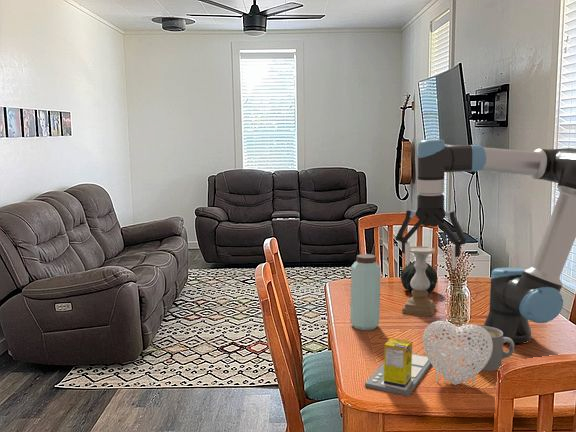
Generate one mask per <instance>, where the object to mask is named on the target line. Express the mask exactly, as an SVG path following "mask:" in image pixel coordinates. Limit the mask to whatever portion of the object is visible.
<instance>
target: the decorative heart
mask: <svg viewBox="0 0 576 432" xmlns="http://www.w3.org/2000/svg"><path fill="white" fill-rule="evenodd" d="M481 326H482V325H478V324H474V323H473V324H465V325H461V326H457V325H455V324H453V323H451V322H449V321H445V320H435V321H433V322H430V323H429V324H428V325H427V326H426V327H425V329H424V330H423V335H422V345H423V350H424V353H425V356H427V357H428V359H429V361H430V363H431V366H432V368H434V369H435V370H436V372H435V374H436V375H435V383H438V382H439V375H441V376H442V377H443V382H444V383H445V384H447V381H448V382H450V384H452V385H454V386H457V385H460V384H462V383H464V386H465V385H467V386H468V381H469V380H470V379H472V380H471V386H472V385H474V386H475V379H476V378H475V377H476V375H478V374H479V373H480V372H481V371H482V369H483V368H484V367H485V365H486V364H487V362H488V361H489V359H490V357H491V354H492V349H493V343H492V338H491V336H490V334H489V333H488V331H487V330H486V329H484V328H483V327H481ZM468 328H469V329H468ZM475 329H476V330H475ZM479 330H480V331H479ZM476 332H477V333H478V334H476ZM469 333H472V335H470V334H469ZM480 333H481V334H482V335H481V334H480ZM483 335H484V336H483ZM436 336H437V337H436ZM473 336H476V337H475V338H476V339H475V338H473ZM479 336H480V338H479ZM468 337H471V340H467V338H468ZM481 337H482V338H481ZM483 339H484V340H485V341H483ZM488 339H489V340H488ZM472 340H474V341H473V342H472ZM478 340H479V343H478ZM486 341H487V344H486ZM469 342H470V345H469ZM473 343H474V344H473ZM483 343H484V344H485V345H484V346H483V345H482V344H483ZM452 344H453V345H452ZM475 344H476V346H475ZM458 345H459V346H458ZM472 345H473V346H474V347H472ZM479 345H480V347H479ZM486 346H488V348H487V347H486ZM466 347H468V348H466ZM489 347H490V348H489ZM476 348H477V349H476ZM481 348H483V350H481ZM471 349H473V350H471ZM479 353H480V354H479ZM481 353H482V354H481ZM477 354H478V355H477ZM487 354H488V355H487ZM449 355H450V356H449ZM486 355H487V356H486ZM478 357H479V358H478ZM483 357H484V358H483ZM466 358H467V359H466ZM463 360H464V361H463ZM479 360H480V362H479V363H478V361H479ZM482 361H483V362H482ZM467 362H468V363H467ZM481 362H482V363H481ZM473 363H474V365H473V366H471V365H472V364H473ZM468 365H469V366H468ZM474 367H475V369H474Z"/></svg>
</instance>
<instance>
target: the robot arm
mask: <svg viewBox="0 0 576 432" xmlns="http://www.w3.org/2000/svg"><path fill="white" fill-rule="evenodd" d="M416 159H417V162H416V163H417V166H416V167H417V182H416V183H417V185H416V188H417V190H416V191H417V193H418V195H417V196H416V197H417V200H416V201H417V204H416V205H417V207H416V208H417V209H416V210H414V209H411V208H410V209H408V210H406V212H405V217H404V220H403V221H402V224H401V226H400V228H399V229H398V232H397V234H396V236H395V240H396V241H397V242H398V241H399V242H401V254H404V265H405V266H407V265H409V264H411V253H410V247H411V243H410V242H411V241H408V240H409V239H410V238H411V237H412V236H413V235H414V234H415V233H416V231H417V230H418V229H419V228H420V227H421V226H422V225H423V226H424V227H429V226H430V227H437V226H438V227H439V228H440V229H441V230H442V231H443V233H444V234H445V235H446V236H447V238H448V239H449V240H450V241H451V242H452V243H453V245H452V247H451V269H453V270H455V269H456V268H457V258H460V255H461V246H462V245H465V244H467V242H468V239H467V237H466V235H465V233H464V230H463V228H462V227H461V225H460V223H459V221H458V219H457V214H456V213H457V212H456V211H455V210H452V211H451V210H450V211H445V195H444V193H445V175H446V174H445V173H461V172H466V173H468V172H470V173H471V172H472V173H473V172H484V173H485V172H486V173H496V174H497V173H499V174H506V175H507V174H509V175H520V176H521V175H523V176H530V177H531V178H532V179H535V180H542V181H547V182H552V183H556V184H557V185H556V188H557V191H558V192H559V195H558V198H557V200H556V202H555V205H554V208H553V210H552V212H551V215H550V217H549V220H548V223H547V225H546V227H545V230H544V233H543V235H542V238H541V240H540V243H539V245H538V248H537V249H536V252H535V255H534V258H533V260H532V262H531V264H530V267H528V268H523V267H497V268H494V269H493V270H491V276H490V280H489V281H490V288H489V289H490V292H489V309H488V314H487V316H486V318H485V321H484V322H483V325H482V326H489V327H493V328H497V329H499V330H501V331H502V332H503V337H508V338H511V339H512V340H513V342H514V345H517V344H516V343H523V344H525V343H524V342H527V341H529V340H530V339H531V340H532V331H531V327H530V326H531V325H530V322H529V321H531V322H533V323H537V324H546V323H548V322H551V321H553V320H554V319H556V318H557V317H558V316H559V315H560V313H561V312H562V309H563V307H564V299H563V296H562V294H561V290H562V287H563V282H562V280H561V275H562V273H563V271H564V268H565V266H566V263H567V261H568V258H569V255H570V253H571V250H572V249H573V248H572V247H573V245H574V243H575V240H576V148H573V147H571V148H570V147H566V148H565V147H564V148H549V149H547V148H546V149H544V148H537V149H534V150H532V151H531V150H519V149H518V150H517V149H508V148H497V147H486V146H485V147H484V146H482V145H480V144H469V145H468V144H466V145H465V144H464V145H463V144H448V143H445V140H444V139H423V140H422V139H421V140H420V141H419V142H418V144H417V152H416ZM415 216H416V217H417V219H418V220H417V222H416V223H415V224H414V226H412V228H410V229H409V231H408V232H407V233H406V235H404V233H405V231H406V229H407V228H408V225H409V224H410V221H411V220H412V218H414V217H415ZM445 217H447V219H448V220H450V223H451V224H452V227H453V229H454V231H455V233H456V234H455V233H454V232H453V231H452V230H451V228H450V227H449V226H448V225H447V223H446V221H445V220H444V219H445ZM456 235H457V236H458V237H457V236H456ZM531 340H530V341H531ZM530 341H529V342H530ZM507 343H508V342H505V343H504V344H507ZM527 343H528V342H527ZM508 345H509V343H508Z"/></svg>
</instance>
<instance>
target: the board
mask: <svg viewBox="0 0 576 432" xmlns="http://www.w3.org/2000/svg"><path fill="white" fill-rule="evenodd" d="M431 366H432V364H431V363H430V361H429V359H428V357H427V355H421V354H417V353H416V354H415V353H412V370H411V380H410V381H409V383H408V384H407V385H406V387H401V386H396V385H391V384H386V383H384V362H383V363H382V364H381V365H380V366H379V367H378V369H376V370H375V372H373V374H372V375H371V376H370V377H369V378H368V379H367V380H366V381H365V382H364V387H365V388H371V389H373V390H378V391H384V392H388V393H393V394H397V395H402V396H407V397H410V395H411V393H412V392H413V391H414V389H415V388H416V387H417V386H418V384H419V383H420V381H421V380H422V378H423V377H424V376H425V374H426V372H427V371H428V370H429V369H430V368H431Z"/></svg>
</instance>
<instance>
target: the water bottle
mask: <svg viewBox="0 0 576 432" xmlns="http://www.w3.org/2000/svg"><path fill="white" fill-rule="evenodd" d="M376 260H377V256H376V255H375V254H371V253H369V254H368V253H360V254H358V255H356V257H355V261H354V262H353V264H352V265H351V267H350V268H351V269H350V271H351V273H350V314H349V315H350V323H351V325H352V327H354V328H355V329H357V330H360V331H372V330H374V329H376V328H377V327H378V326H379V325H380V314H381V313H380V312H381V311H380V310H381V309H380V308H381V307H380V306H381V272H382V271H381V269H382V268H381V266H380V265H379V264H378V263H377V261H376Z"/></svg>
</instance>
